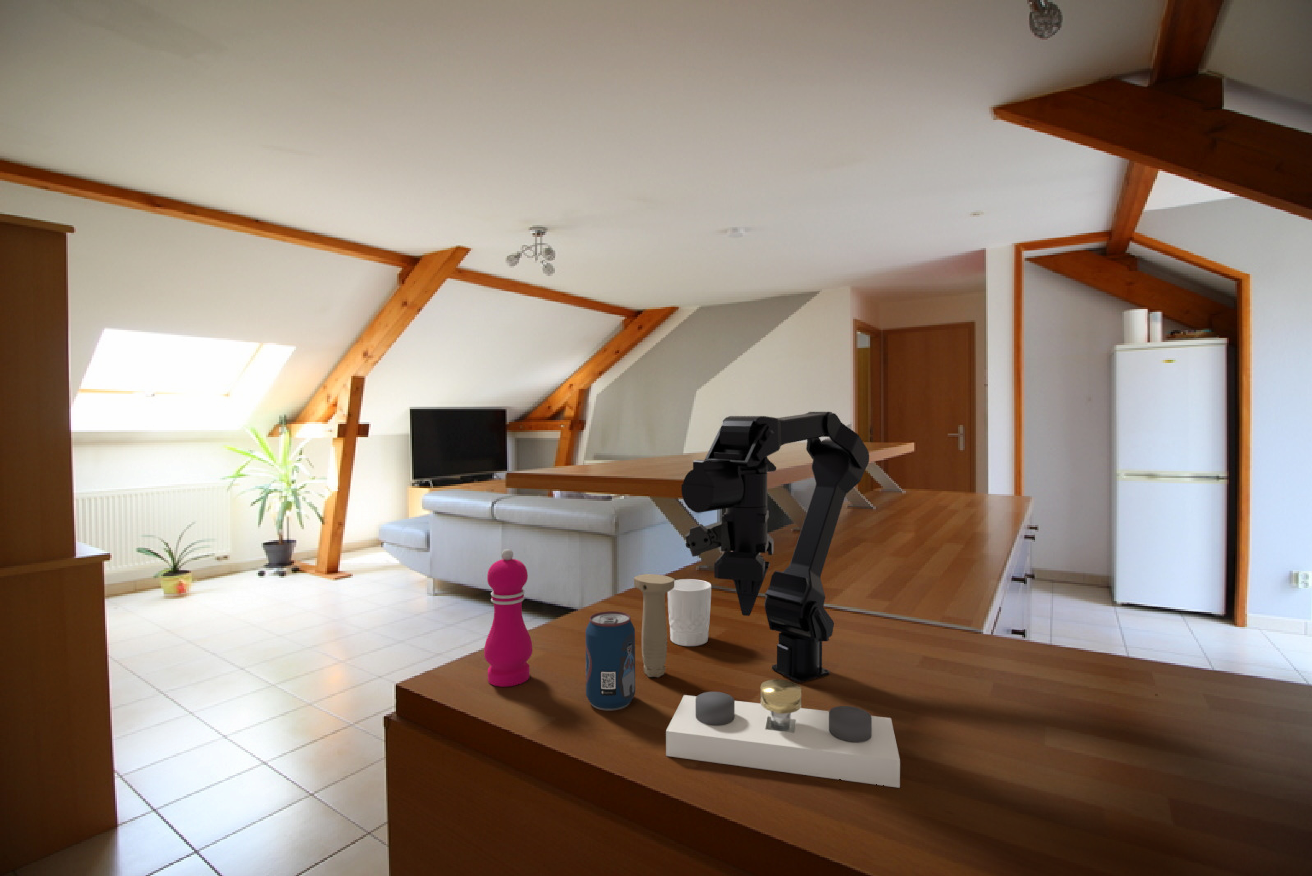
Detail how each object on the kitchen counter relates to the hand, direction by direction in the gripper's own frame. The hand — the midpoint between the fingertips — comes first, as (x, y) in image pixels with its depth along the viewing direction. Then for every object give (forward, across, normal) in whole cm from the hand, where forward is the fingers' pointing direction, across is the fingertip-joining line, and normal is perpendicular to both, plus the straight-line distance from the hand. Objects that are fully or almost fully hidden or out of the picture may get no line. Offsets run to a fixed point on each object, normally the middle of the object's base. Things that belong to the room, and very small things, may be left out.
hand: (746, 615), depth 91 cm
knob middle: (+9, +13, +6) cm, 17 cm away
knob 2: (+12, +13, +14) cm, 22 cm away
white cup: (+12, -21, -13) cm, 28 cm away
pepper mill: (+12, +2, -36) cm, 38 cm away
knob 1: (+12, +13, -2) cm, 17 cm away
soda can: (+12, +6, -18) cm, 23 cm away
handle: (+12, -5, -15) cm, 20 cm away
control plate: (+12, +13, +6) cm, 18 cm away
